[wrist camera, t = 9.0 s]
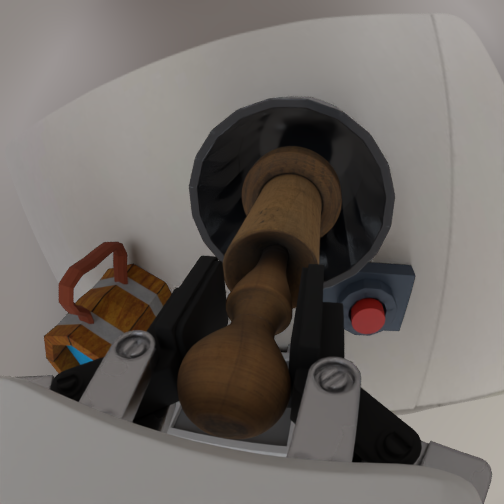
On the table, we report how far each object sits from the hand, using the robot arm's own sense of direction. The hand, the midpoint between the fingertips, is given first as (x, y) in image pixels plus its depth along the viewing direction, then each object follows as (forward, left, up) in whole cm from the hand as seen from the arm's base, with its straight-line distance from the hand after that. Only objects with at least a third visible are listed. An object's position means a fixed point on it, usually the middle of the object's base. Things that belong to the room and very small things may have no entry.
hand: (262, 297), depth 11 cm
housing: (-8, +15, -22) cm, 27 cm away
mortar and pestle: (0, 0, -13) cm, 13 cm away
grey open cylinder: (0, 0, -22) cm, 22 cm away
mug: (+22, +17, -22) cm, 35 cm away
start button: (-8, +15, -18) cm, 24 cm away
